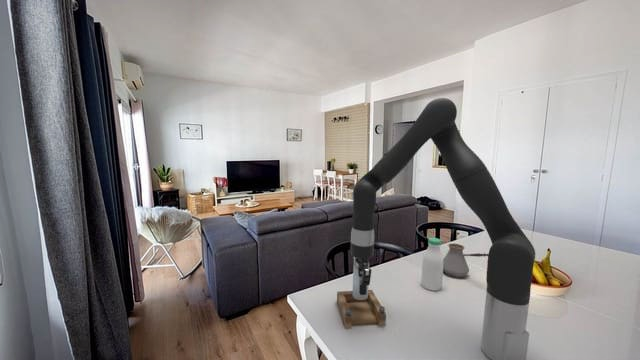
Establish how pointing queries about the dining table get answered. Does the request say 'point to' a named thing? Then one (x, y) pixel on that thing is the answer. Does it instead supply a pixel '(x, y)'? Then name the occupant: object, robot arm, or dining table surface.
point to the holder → (360, 310)
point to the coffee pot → (457, 261)
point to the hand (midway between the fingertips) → (360, 289)
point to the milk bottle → (432, 266)
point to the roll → (357, 285)
